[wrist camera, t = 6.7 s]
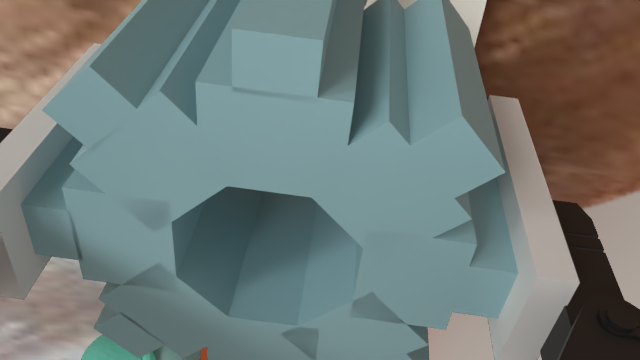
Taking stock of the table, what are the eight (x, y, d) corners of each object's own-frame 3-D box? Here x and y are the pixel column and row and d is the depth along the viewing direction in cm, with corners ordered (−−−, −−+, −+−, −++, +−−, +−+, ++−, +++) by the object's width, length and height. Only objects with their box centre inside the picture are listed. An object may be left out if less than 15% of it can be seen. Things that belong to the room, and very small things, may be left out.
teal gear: (145, 216, 20) (68, 369, 15) (105, -101, 14) (-47, -8, 9) (437, 256, 20) (451, 424, 15) (532, -46, 13) (608, 77, 9)
